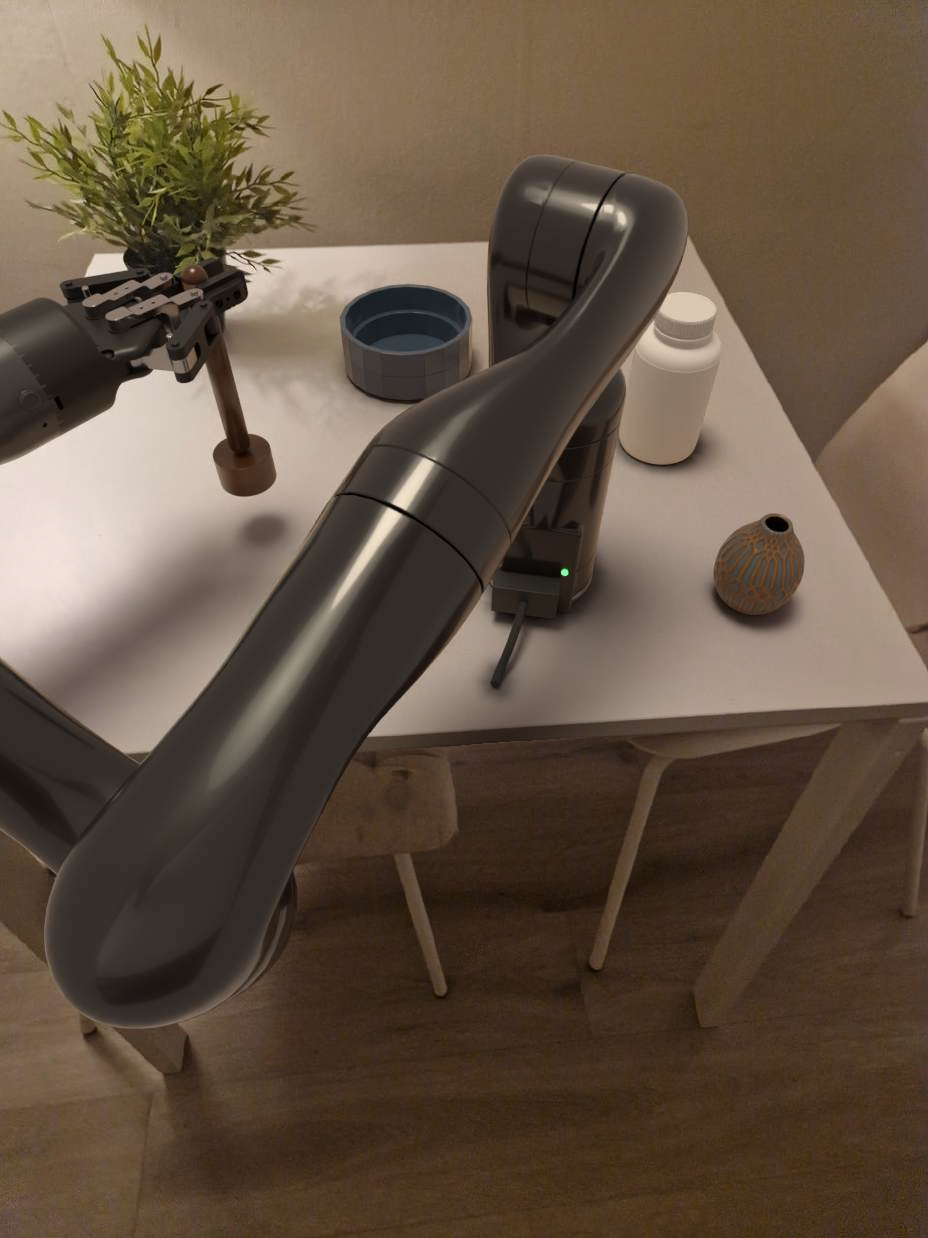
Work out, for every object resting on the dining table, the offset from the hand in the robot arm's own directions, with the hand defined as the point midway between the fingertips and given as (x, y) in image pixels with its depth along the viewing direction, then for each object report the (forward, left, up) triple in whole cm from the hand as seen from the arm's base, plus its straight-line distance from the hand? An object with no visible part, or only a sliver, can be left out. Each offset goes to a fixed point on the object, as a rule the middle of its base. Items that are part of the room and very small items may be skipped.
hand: (231, 276), depth 57 cm
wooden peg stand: (-2, +1, -17) cm, 17 cm away
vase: (-4, -43, -23) cm, 49 cm away
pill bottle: (+16, -35, -23) cm, 45 cm away
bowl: (+25, -7, -23) cm, 35 cm away
